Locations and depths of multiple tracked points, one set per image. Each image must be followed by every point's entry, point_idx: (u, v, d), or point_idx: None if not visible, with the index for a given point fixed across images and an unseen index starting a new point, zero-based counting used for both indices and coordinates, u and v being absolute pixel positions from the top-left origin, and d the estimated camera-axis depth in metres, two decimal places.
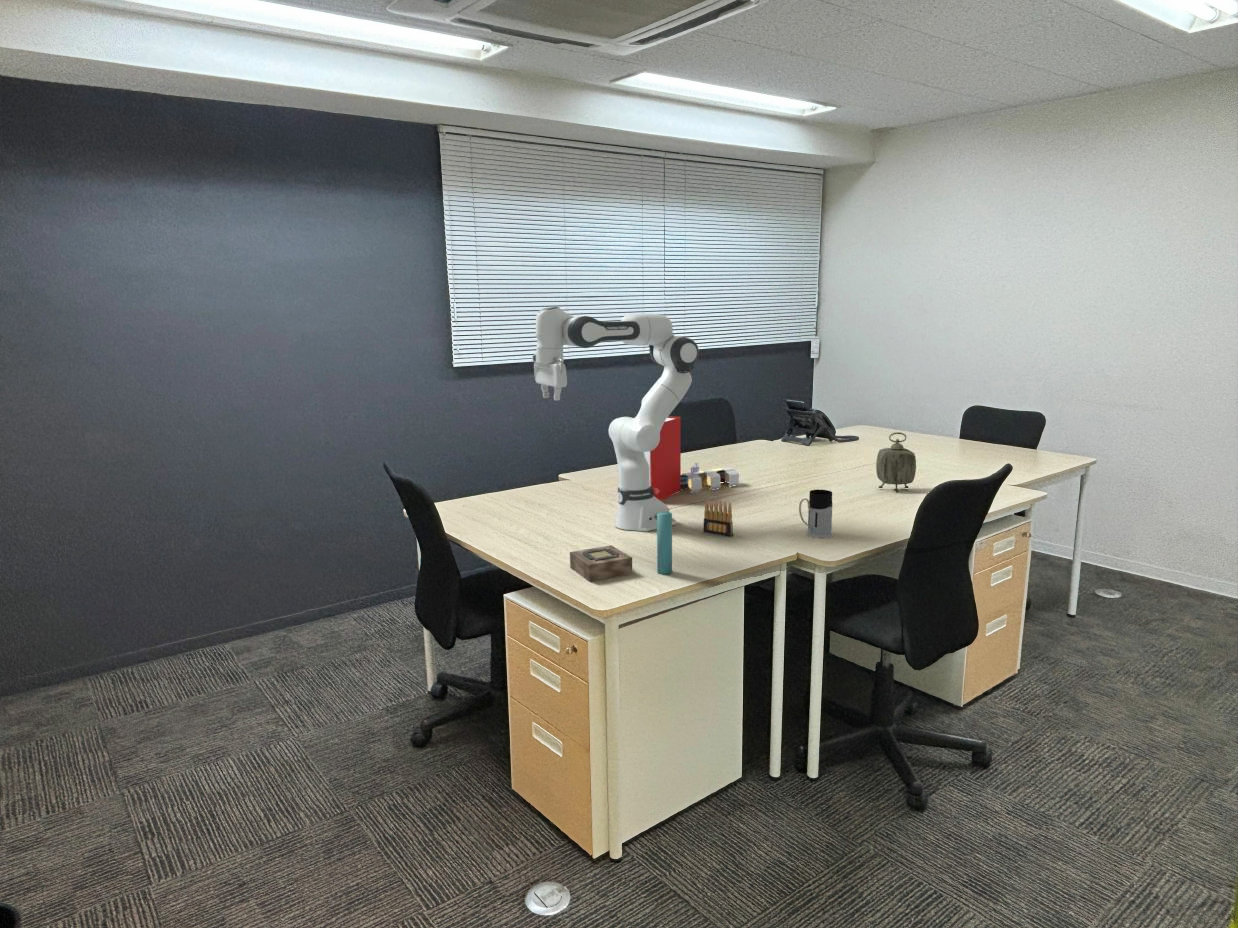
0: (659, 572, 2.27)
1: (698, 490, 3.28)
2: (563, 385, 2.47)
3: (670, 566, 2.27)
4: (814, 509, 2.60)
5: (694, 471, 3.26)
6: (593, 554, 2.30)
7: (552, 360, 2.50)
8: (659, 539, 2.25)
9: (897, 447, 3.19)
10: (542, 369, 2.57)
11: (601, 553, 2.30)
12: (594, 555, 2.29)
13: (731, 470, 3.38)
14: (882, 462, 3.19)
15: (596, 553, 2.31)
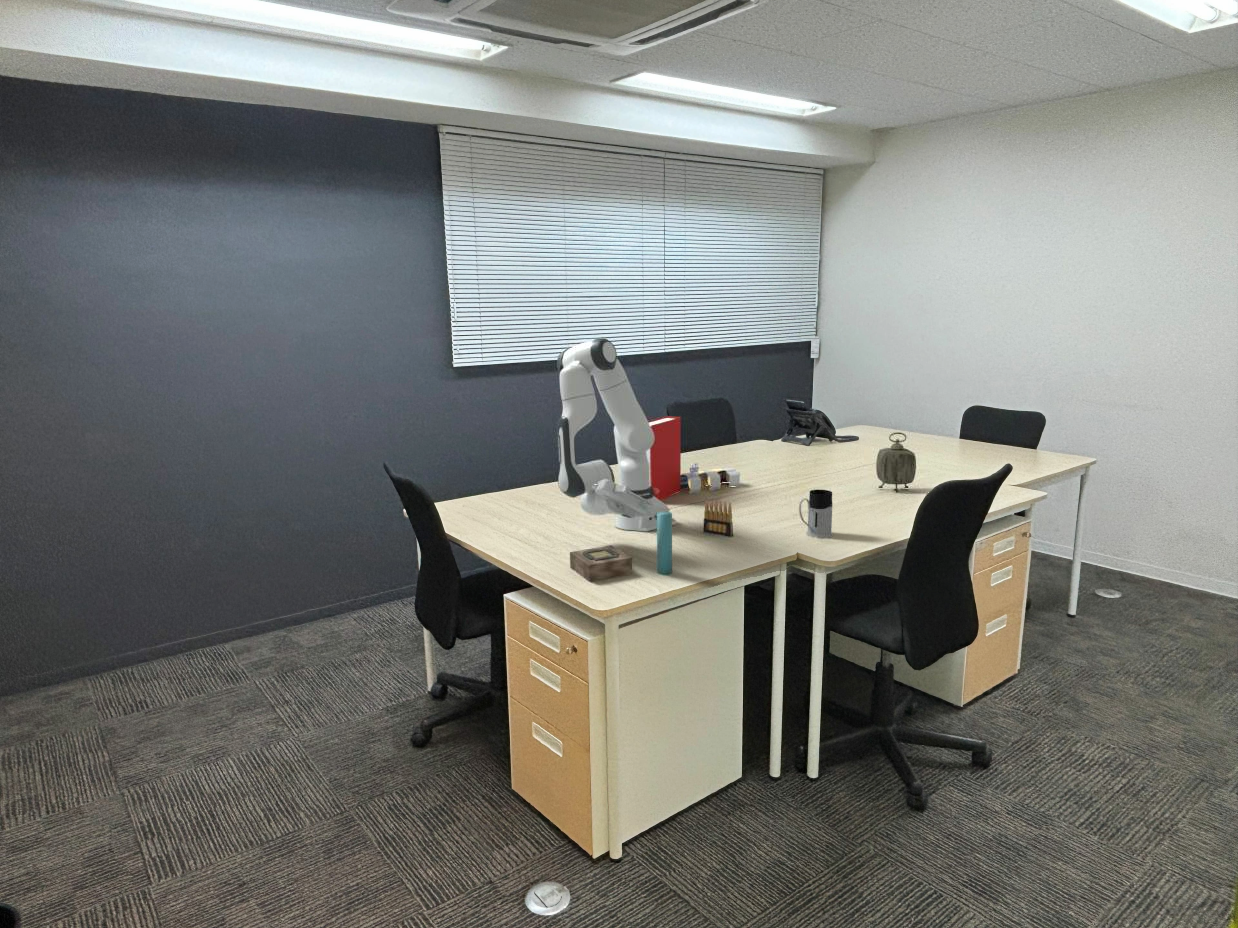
0: (659, 572, 2.27)
1: (697, 490, 3.28)
2: (605, 482, 2.35)
3: (670, 566, 2.27)
4: (814, 509, 2.60)
5: (693, 471, 3.26)
6: (593, 554, 2.30)
7: None
8: (659, 539, 2.25)
9: (897, 447, 3.19)
10: (628, 507, 2.44)
11: (601, 553, 2.30)
12: (594, 555, 2.29)
13: (732, 470, 3.37)
14: (882, 462, 3.19)
15: (596, 553, 2.31)
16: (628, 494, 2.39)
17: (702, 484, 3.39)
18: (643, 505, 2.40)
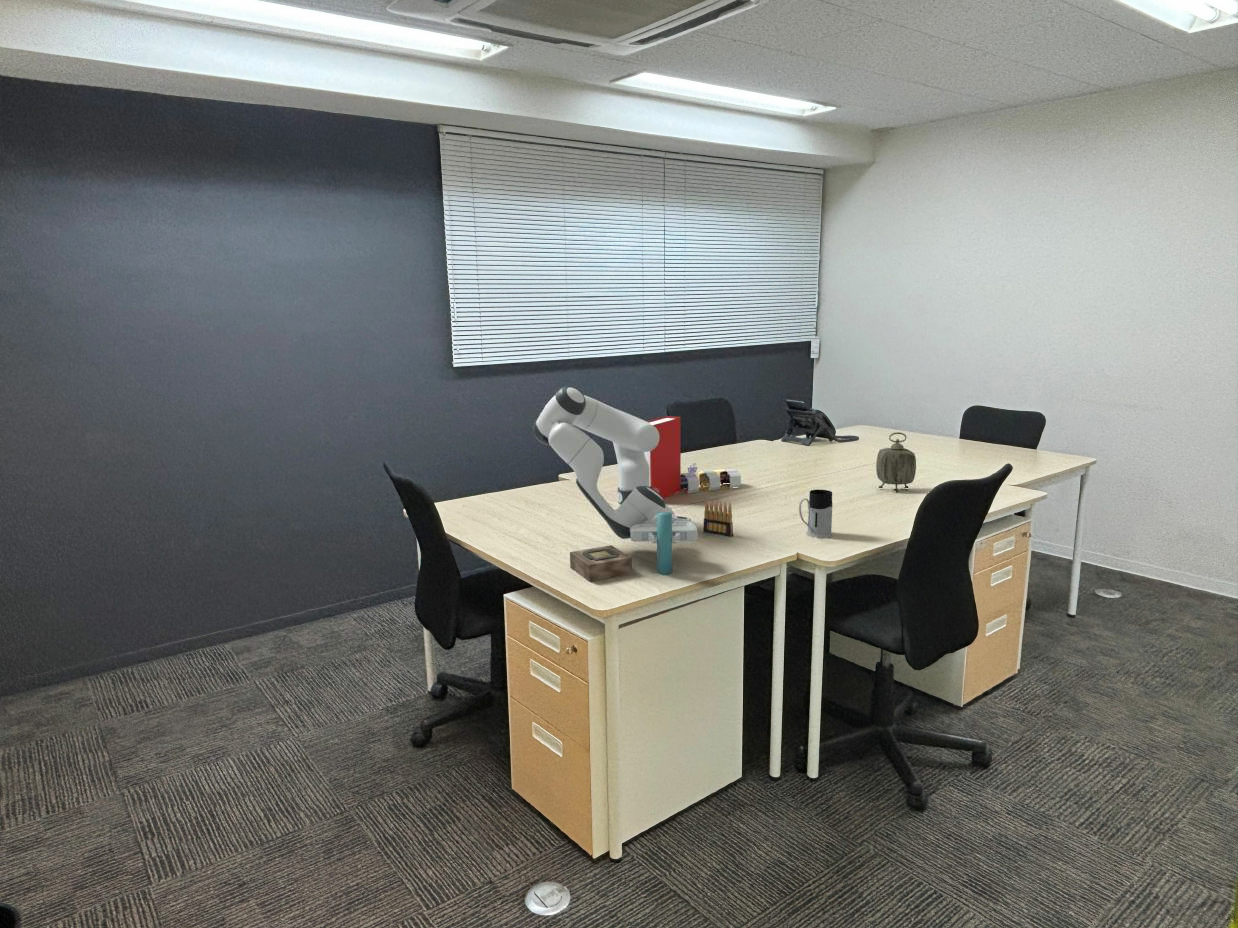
0: (659, 572, 2.27)
1: (696, 490, 3.27)
2: (631, 534, 2.31)
3: (670, 566, 2.27)
4: (814, 509, 2.60)
5: (691, 471, 3.26)
6: (593, 554, 2.30)
7: None
8: (659, 539, 2.25)
9: (897, 447, 3.19)
10: None
11: (601, 553, 2.30)
12: (594, 555, 2.29)
13: (733, 471, 3.34)
14: (882, 462, 3.19)
15: (596, 553, 2.31)
16: None
17: (703, 484, 3.38)
18: None
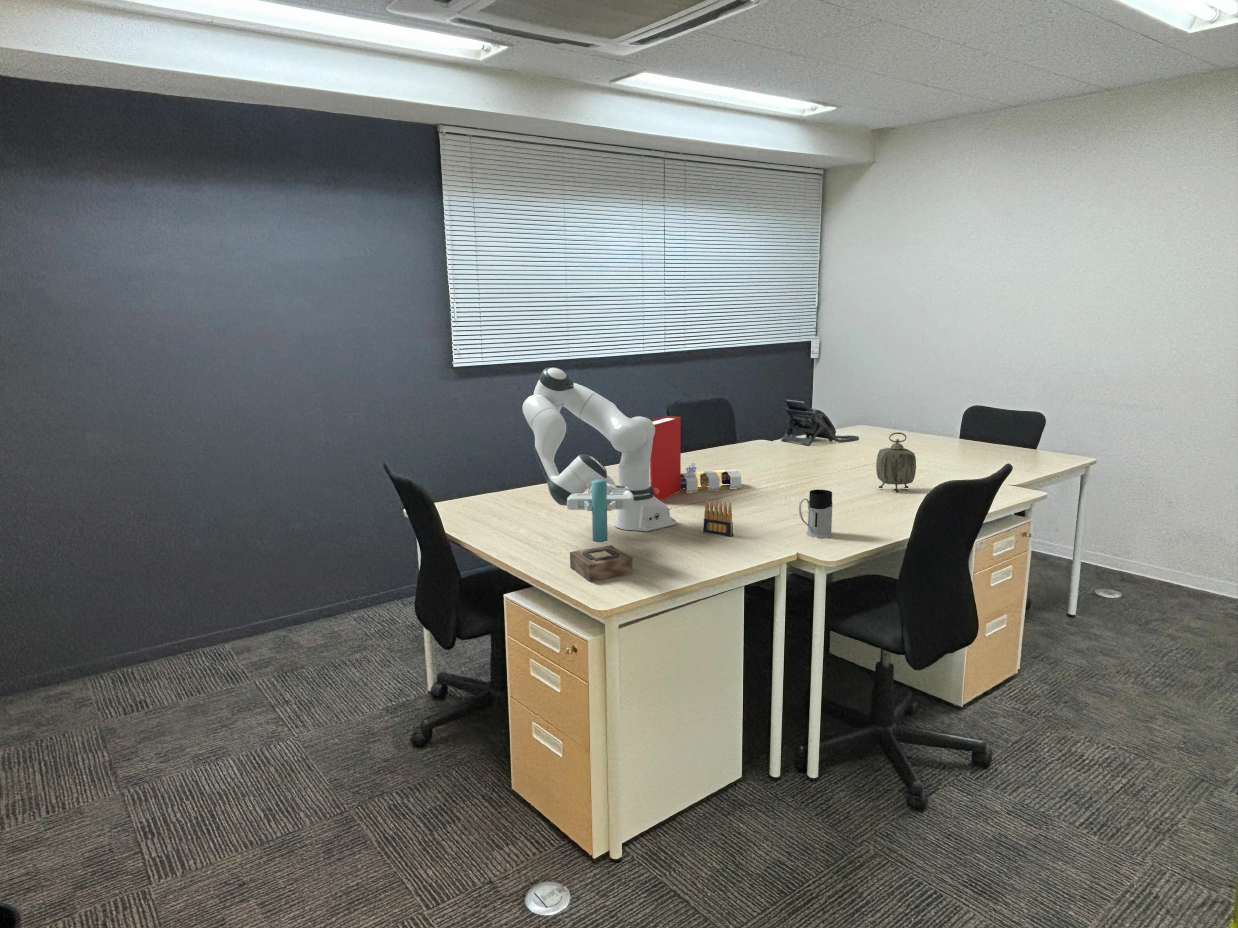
0: (594, 540, 2.27)
1: (694, 490, 3.27)
2: (567, 502, 2.31)
3: (605, 534, 2.27)
4: (814, 509, 2.60)
5: (690, 471, 3.26)
6: (593, 554, 2.30)
7: None
8: (593, 507, 2.25)
9: (897, 447, 3.19)
10: None
11: (601, 553, 2.30)
12: (594, 555, 2.29)
13: (734, 472, 3.33)
14: (882, 462, 3.19)
15: (596, 553, 2.31)
16: None
17: (704, 485, 3.38)
18: None
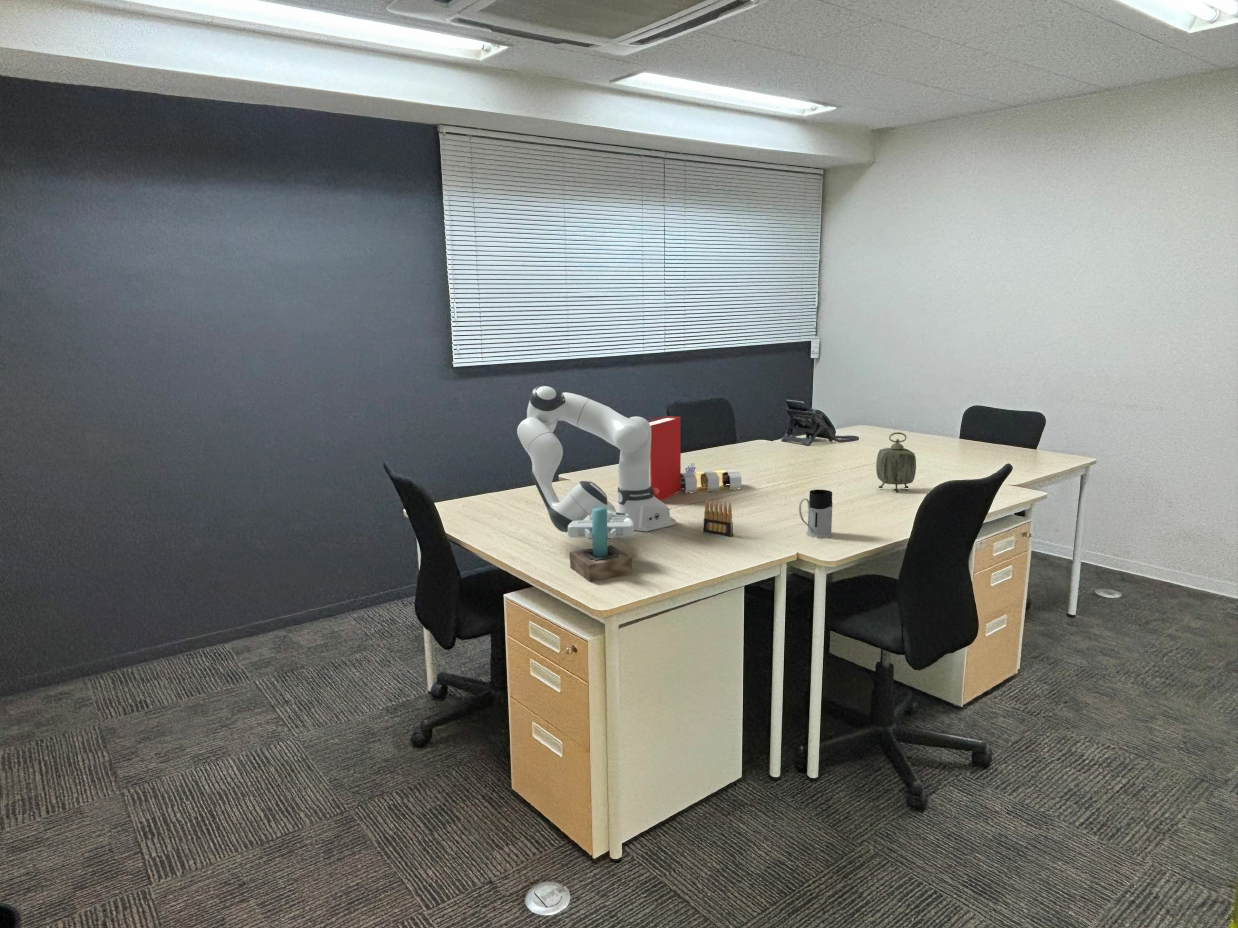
0: None
1: (693, 490, 3.27)
2: (568, 530, 2.33)
3: None
4: (814, 509, 2.60)
5: (689, 471, 3.26)
6: None
7: None
8: (594, 534, 2.27)
9: (897, 447, 3.19)
10: None
11: None
12: None
13: (734, 473, 3.32)
14: (882, 462, 3.19)
15: None
16: None
17: (705, 485, 3.37)
18: None
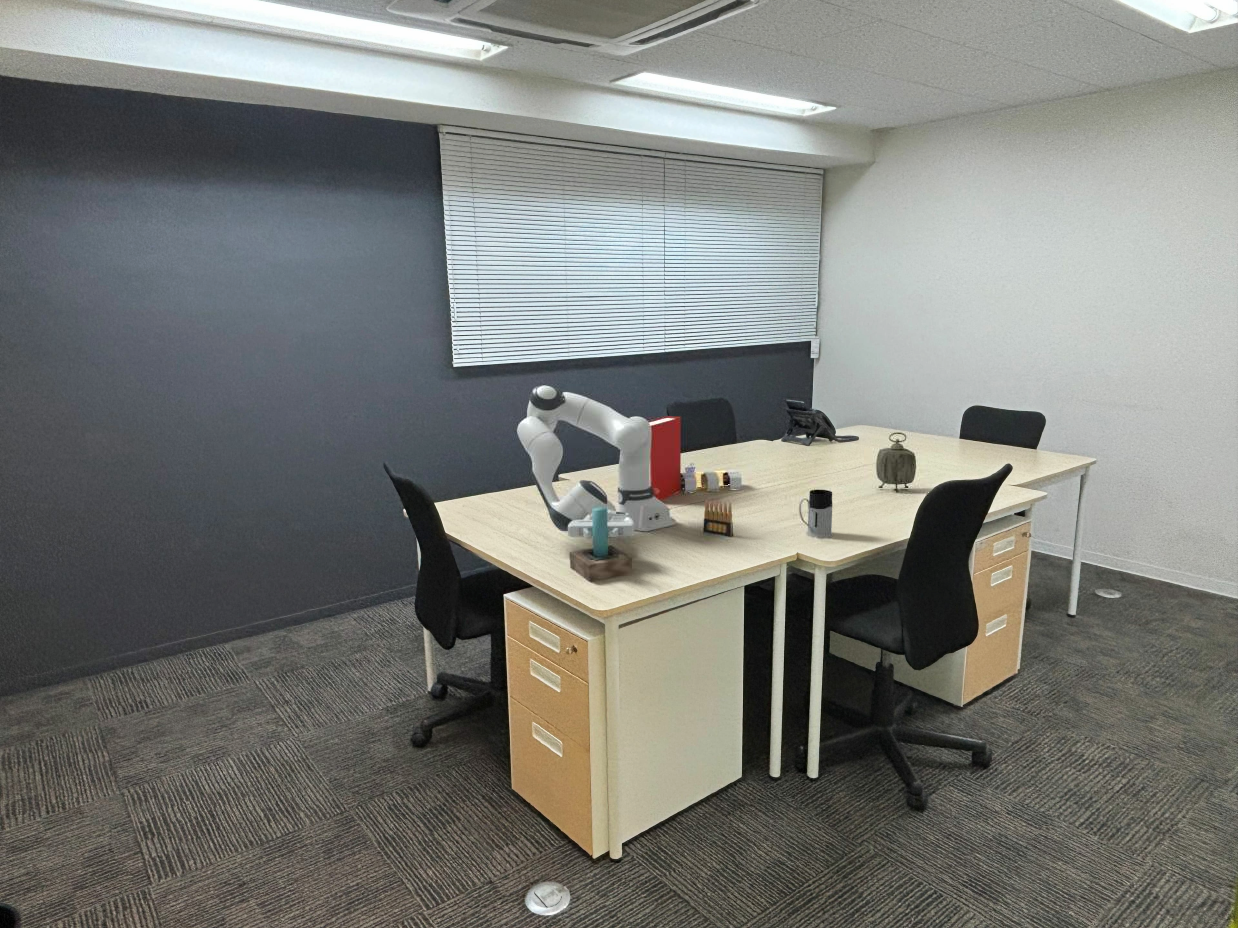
0: None
1: (693, 490, 3.27)
2: (568, 529, 2.33)
3: None
4: (814, 509, 2.60)
5: (689, 471, 3.26)
6: None
7: None
8: (594, 534, 2.27)
9: (897, 447, 3.19)
10: None
11: None
12: None
13: (734, 473, 3.32)
14: (882, 462, 3.19)
15: None
16: None
17: (705, 485, 3.37)
18: None
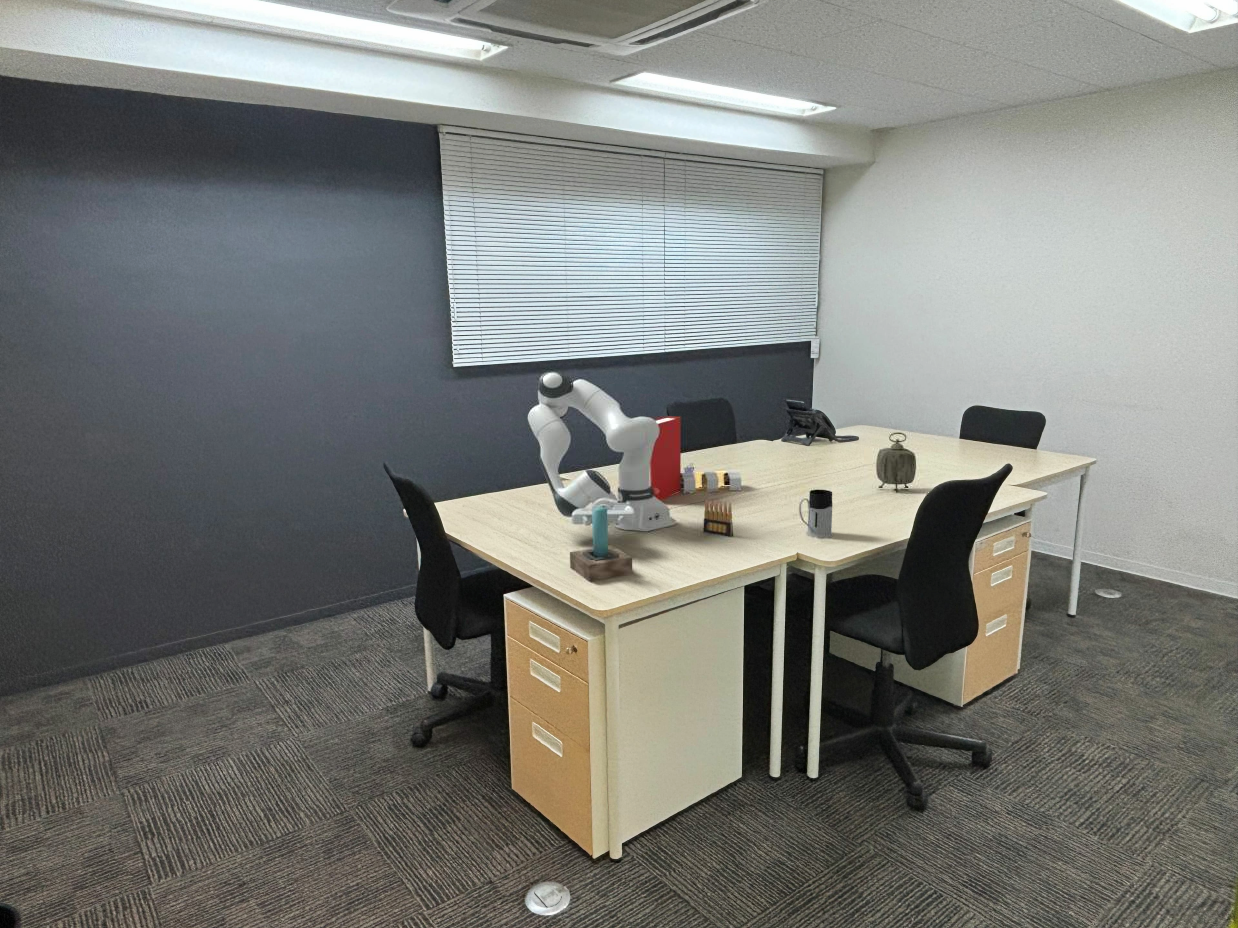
0: None
1: (692, 490, 3.27)
2: (572, 517, 2.46)
3: None
4: (814, 509, 2.60)
5: (688, 471, 3.26)
6: None
7: None
8: (594, 534, 2.27)
9: (897, 447, 3.19)
10: None
11: None
12: None
13: (735, 474, 3.30)
14: (882, 462, 3.19)
15: None
16: None
17: (706, 485, 3.37)
18: None
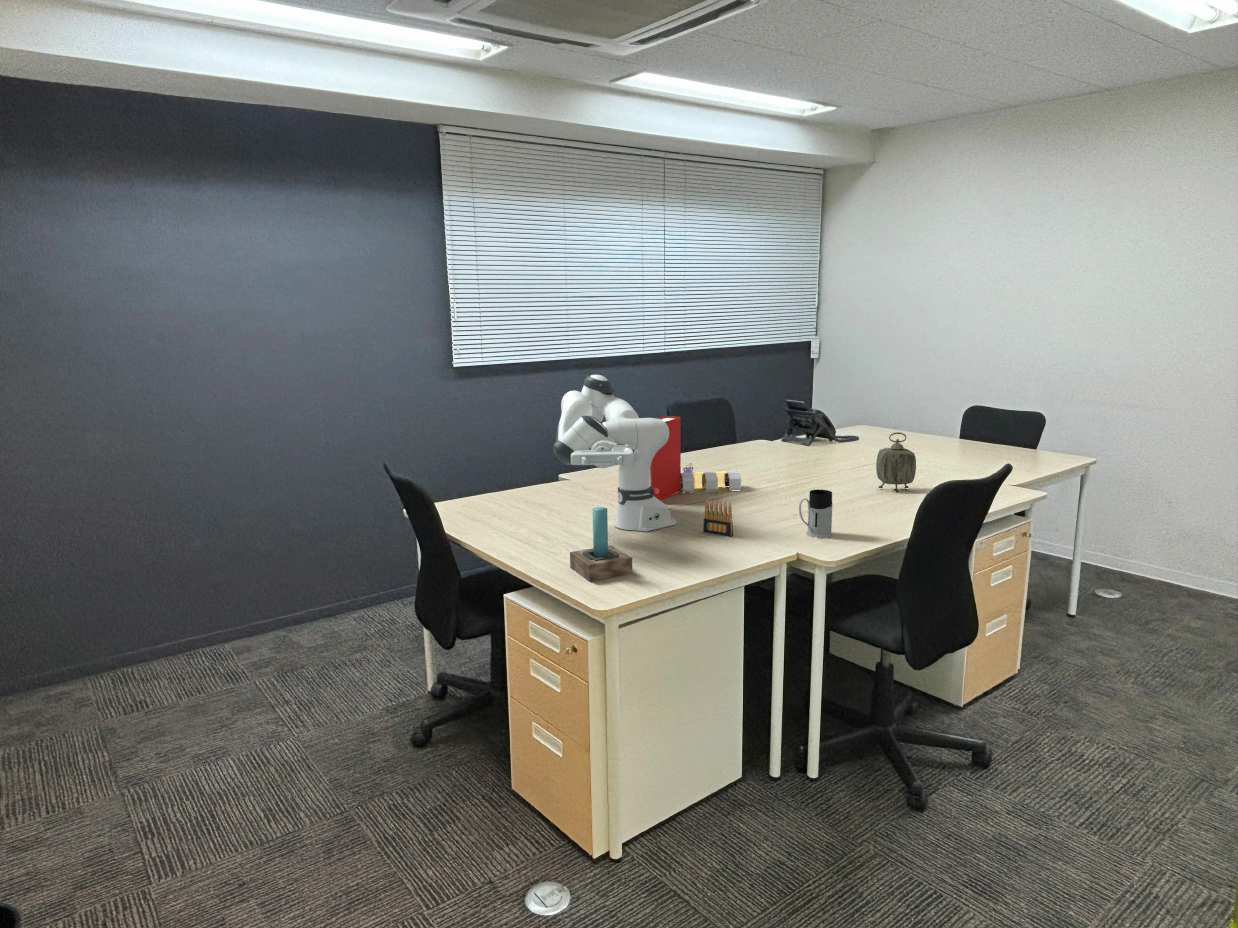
0: None
1: (691, 491, 3.27)
2: (571, 458, 2.46)
3: None
4: (814, 509, 2.60)
5: (687, 471, 3.26)
6: None
7: None
8: (594, 534, 2.27)
9: (897, 447, 3.19)
10: None
11: None
12: None
13: (735, 474, 3.29)
14: (882, 462, 3.19)
15: None
16: (600, 457, 2.46)
17: (706, 485, 3.36)
18: None
